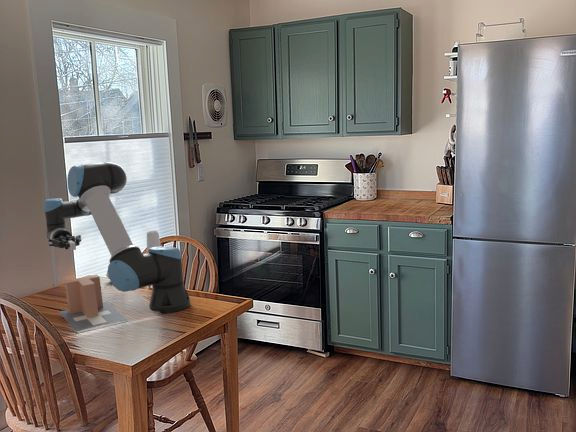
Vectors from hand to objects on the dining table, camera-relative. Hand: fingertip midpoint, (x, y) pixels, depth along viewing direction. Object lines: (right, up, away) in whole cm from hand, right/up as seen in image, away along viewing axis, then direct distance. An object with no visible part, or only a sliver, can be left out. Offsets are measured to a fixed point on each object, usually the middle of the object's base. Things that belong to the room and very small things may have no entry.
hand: (73, 246), depth 222 cm
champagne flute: (+26, -19, +28) cm, 43 cm away
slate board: (+11, -26, -10) cm, 30 cm away
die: (+5, -18, +42) cm, 46 cm away
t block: (+8, -24, -6) cm, 26 cm away
